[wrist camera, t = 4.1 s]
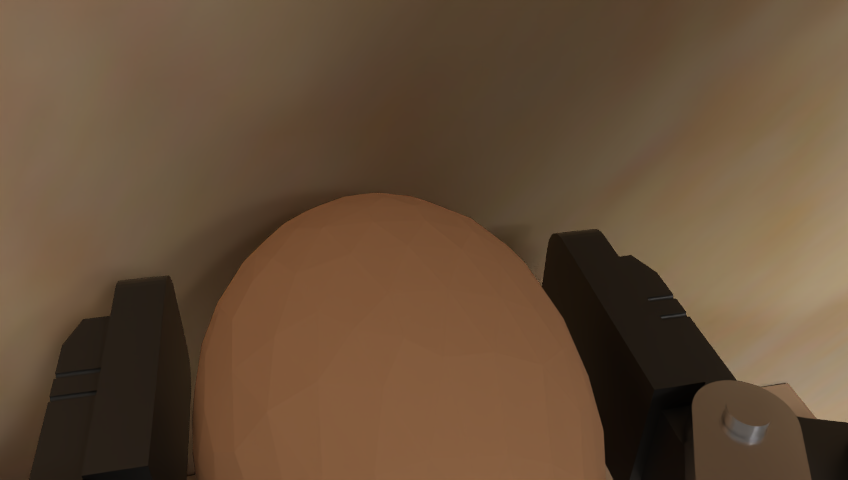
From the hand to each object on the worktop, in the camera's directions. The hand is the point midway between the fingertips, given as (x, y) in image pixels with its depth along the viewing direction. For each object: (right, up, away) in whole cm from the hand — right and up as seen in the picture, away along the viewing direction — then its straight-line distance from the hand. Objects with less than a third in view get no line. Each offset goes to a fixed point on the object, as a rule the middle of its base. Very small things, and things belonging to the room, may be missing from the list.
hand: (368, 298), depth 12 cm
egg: (0, +1, +1) cm, 1 cm away
